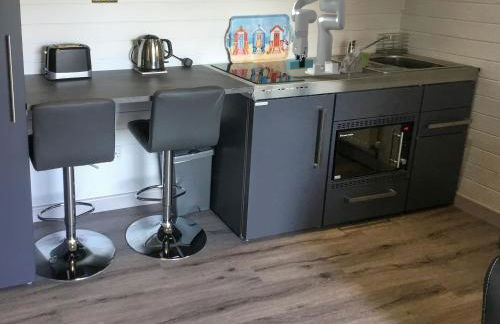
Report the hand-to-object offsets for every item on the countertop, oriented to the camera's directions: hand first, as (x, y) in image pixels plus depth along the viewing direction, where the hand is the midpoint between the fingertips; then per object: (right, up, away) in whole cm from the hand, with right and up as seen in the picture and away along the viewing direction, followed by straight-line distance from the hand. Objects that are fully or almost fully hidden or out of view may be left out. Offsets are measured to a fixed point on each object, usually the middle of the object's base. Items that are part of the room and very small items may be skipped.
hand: (299, 66), depth 325 cm
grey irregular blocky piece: (+32, +1, +25) cm, 41 cm away
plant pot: (+43, +6, +40) cm, 59 cm away
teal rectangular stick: (0, -1, 0) cm, 1 cm away
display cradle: (+14, -2, +13) cm, 20 cm away
